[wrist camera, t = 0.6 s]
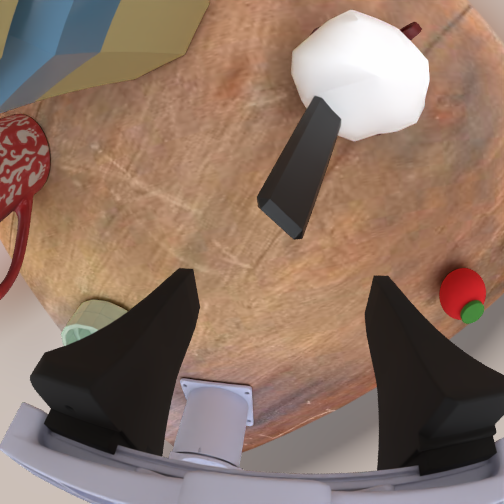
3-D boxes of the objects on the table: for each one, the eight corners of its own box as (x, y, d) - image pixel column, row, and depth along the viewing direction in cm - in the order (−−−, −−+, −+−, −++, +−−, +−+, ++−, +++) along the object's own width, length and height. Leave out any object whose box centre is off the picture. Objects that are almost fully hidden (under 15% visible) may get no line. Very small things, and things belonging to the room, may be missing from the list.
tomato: (464, 297, 23) (482, 331, 19) (427, 297, 23) (442, 334, 20) (480, 258, 21) (502, 292, 17) (441, 257, 21) (461, 292, 18)
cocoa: (392, 10, 13) (509, -38, 3) (427, 104, 16) (559, 167, 6) (244, 58, 16) (170, 44, 6) (288, 150, 19) (280, 260, 9)
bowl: (163, 363, 32) (152, 392, 29) (95, 350, 33) (82, 375, 30) (143, 301, 27) (126, 332, 24) (68, 291, 28) (48, 317, 25)
